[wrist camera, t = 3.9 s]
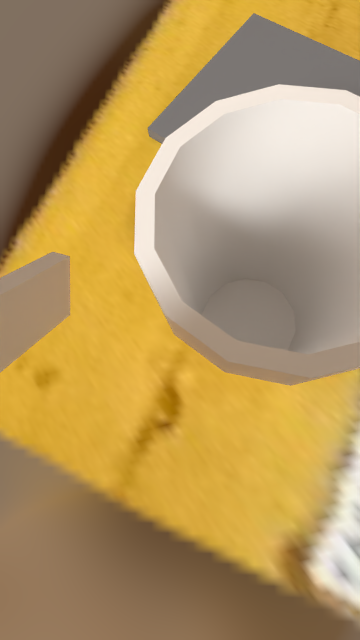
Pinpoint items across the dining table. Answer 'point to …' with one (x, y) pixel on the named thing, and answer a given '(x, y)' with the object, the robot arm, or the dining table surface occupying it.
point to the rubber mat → (259, 71)
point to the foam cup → (259, 233)
